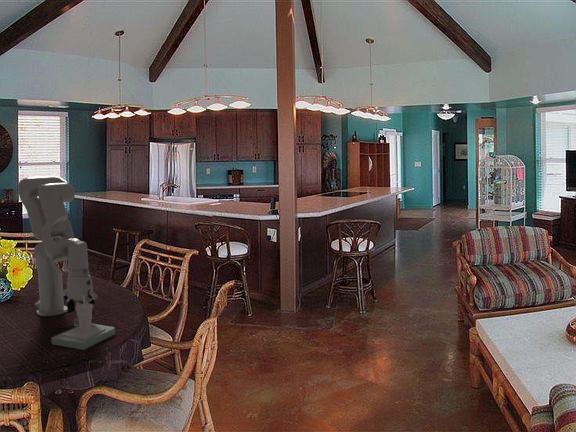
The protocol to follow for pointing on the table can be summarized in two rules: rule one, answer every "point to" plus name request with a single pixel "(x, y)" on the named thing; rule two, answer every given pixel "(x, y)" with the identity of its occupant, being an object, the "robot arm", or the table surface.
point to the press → (83, 336)
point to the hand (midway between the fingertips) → (80, 313)
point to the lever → (76, 311)
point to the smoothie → (84, 315)
